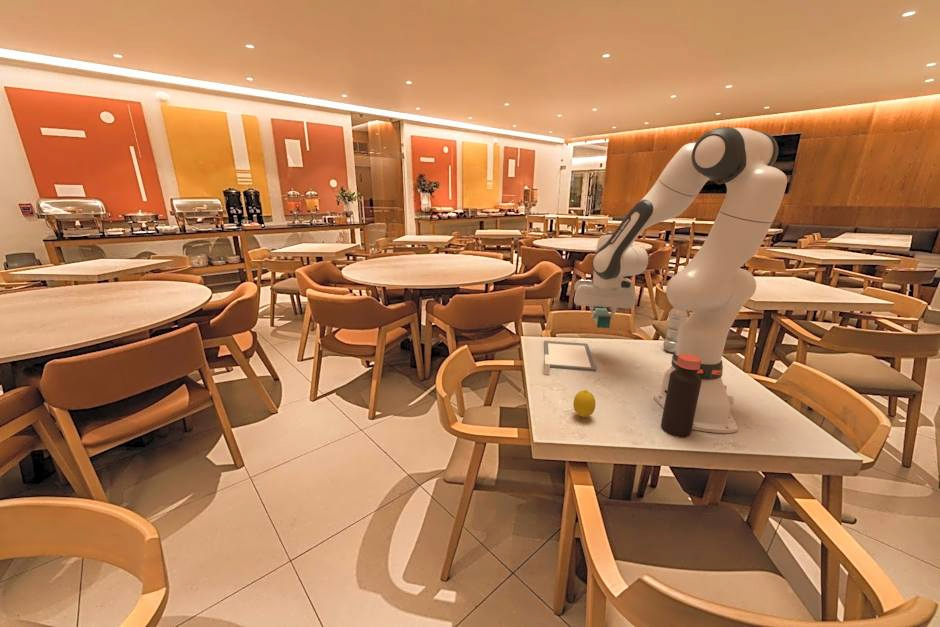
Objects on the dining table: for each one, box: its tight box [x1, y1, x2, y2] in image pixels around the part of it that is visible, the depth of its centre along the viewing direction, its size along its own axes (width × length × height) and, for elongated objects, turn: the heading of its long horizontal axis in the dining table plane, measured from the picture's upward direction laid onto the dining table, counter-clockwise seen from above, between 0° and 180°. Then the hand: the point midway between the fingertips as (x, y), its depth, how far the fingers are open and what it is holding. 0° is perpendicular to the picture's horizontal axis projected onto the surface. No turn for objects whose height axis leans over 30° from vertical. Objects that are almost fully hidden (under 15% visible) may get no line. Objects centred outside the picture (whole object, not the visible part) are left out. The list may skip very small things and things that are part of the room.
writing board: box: [543, 340, 597, 372], centre depth 140 cm, size 24×17×1 cm
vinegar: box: [660, 354, 702, 438], centre depth 92 cm, size 7×7×20 cm
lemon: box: [573, 389, 596, 418], centre depth 99 cm, size 6×6×8 cm
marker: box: [593, 307, 612, 329], centre depth 135 cm, size 13×4×4 cm, turn 168°
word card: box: [543, 354, 551, 376], centre depth 128 cm, size 8×2×4 cm, turn 170°
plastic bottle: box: [663, 307, 689, 354], centre depth 142 cm, size 6×7×20 cm
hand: (601, 318), depth 134 cm, fingers closed on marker, 4 cm apart
